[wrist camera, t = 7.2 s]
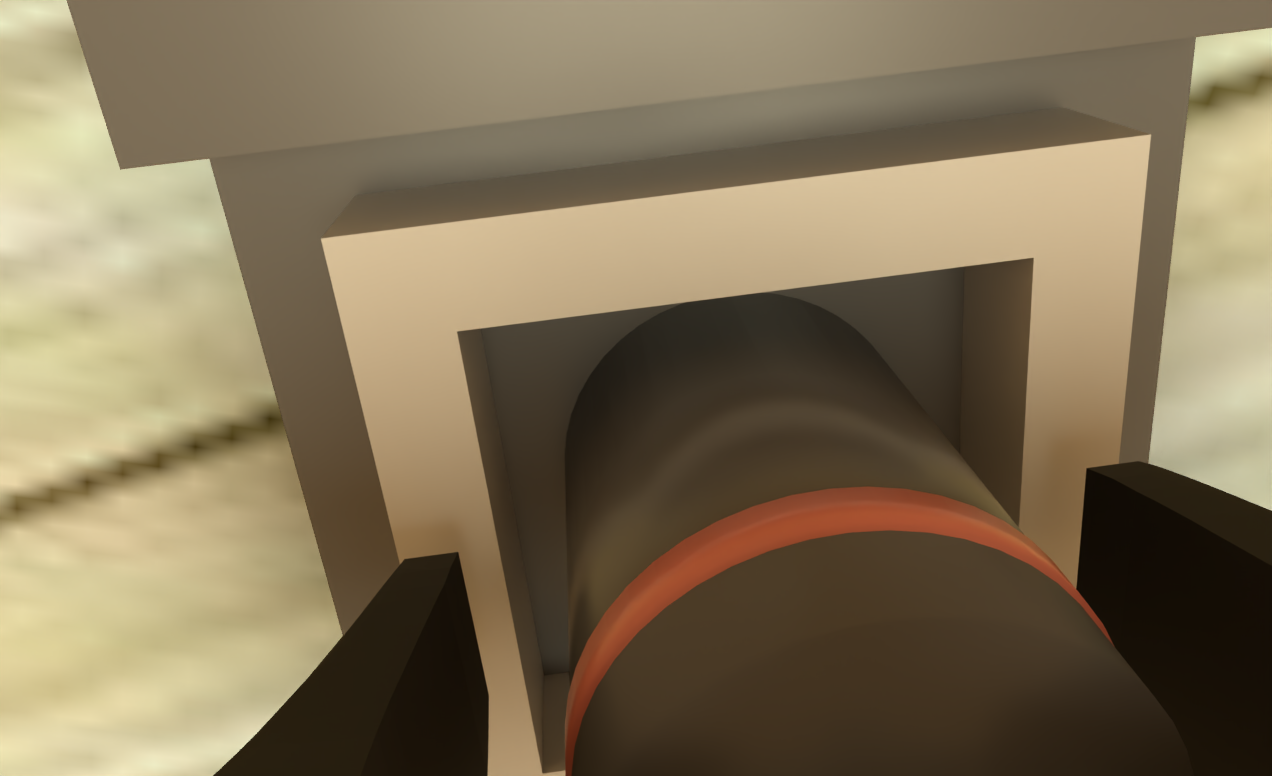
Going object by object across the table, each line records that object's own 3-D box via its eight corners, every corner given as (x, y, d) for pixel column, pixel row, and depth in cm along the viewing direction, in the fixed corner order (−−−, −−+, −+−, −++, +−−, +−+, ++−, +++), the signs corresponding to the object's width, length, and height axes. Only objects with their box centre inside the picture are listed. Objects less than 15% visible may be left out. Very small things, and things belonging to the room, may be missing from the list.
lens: (904, 580, 15) (1160, 1042, 9) (581, 618, 15) (600, 1117, 9) (912, 269, 13) (1250, 570, 7) (540, 309, 13) (526, 656, 7)
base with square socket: (1052, 778, 20) (1179, 989, 16) (445, 863, 19) (416, 1101, 15) (1139, -311, 12) (1416, -434, 8) (169, -200, 12) (-20, -272, 8)
